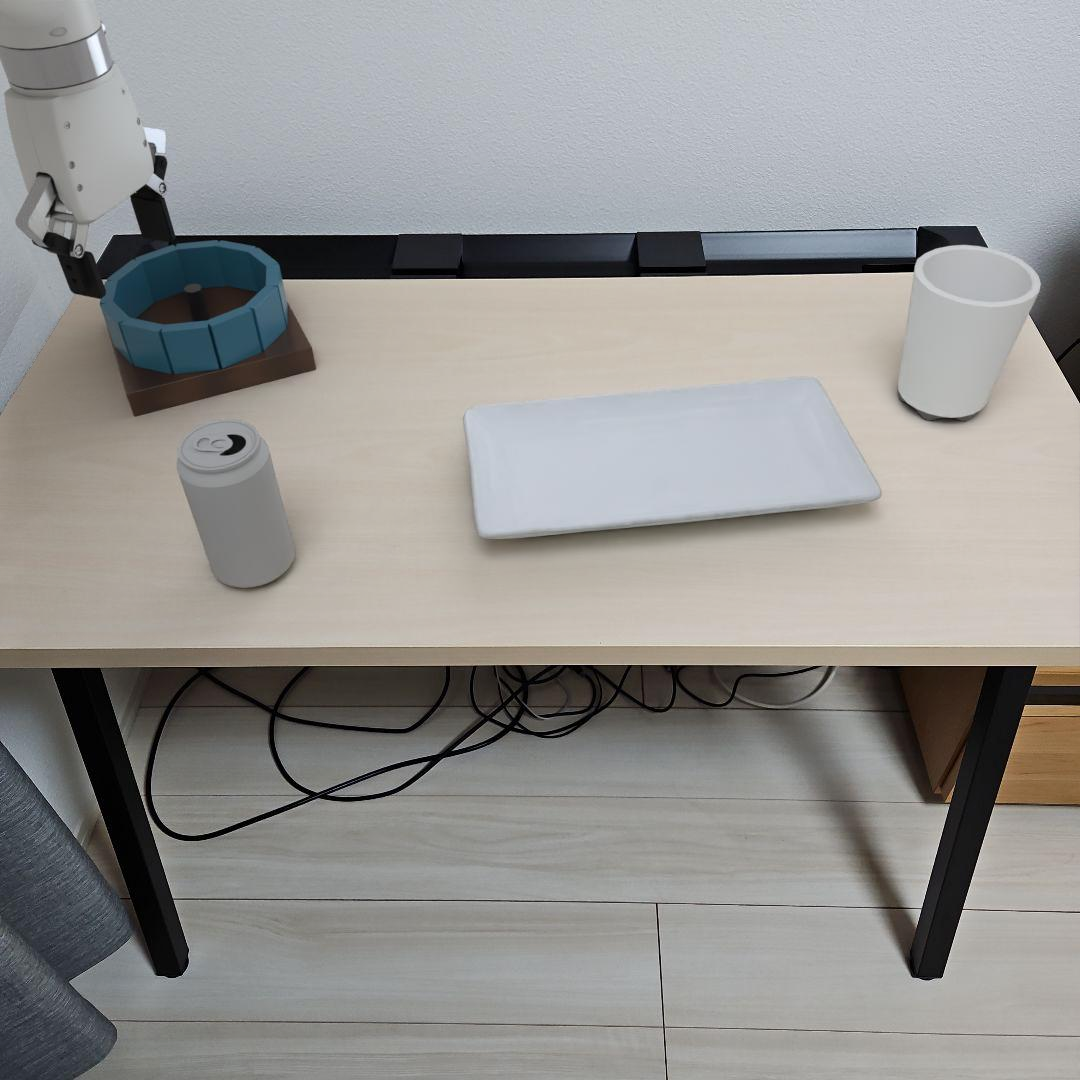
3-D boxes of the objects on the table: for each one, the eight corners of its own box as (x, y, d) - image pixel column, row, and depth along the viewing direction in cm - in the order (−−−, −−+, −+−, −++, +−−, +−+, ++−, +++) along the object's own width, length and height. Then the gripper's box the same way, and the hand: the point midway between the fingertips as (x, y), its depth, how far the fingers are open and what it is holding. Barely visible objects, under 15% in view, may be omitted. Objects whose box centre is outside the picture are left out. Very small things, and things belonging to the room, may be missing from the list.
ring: (127, 392, 93) (112, 349, 90) (102, 303, 104) (87, 262, 101) (309, 346, 98) (301, 304, 95) (266, 266, 109) (258, 226, 106)
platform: (134, 416, 95) (112, 356, 90) (107, 325, 106) (87, 267, 101) (316, 369, 100) (304, 309, 95) (272, 286, 111) (260, 229, 106)
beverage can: (288, 594, 78) (254, 471, 70) (203, 594, 79) (159, 472, 70) (303, 535, 83) (273, 414, 75) (223, 535, 83) (185, 414, 75)
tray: (463, 434, 92) (461, 402, 90) (811, 402, 94) (818, 370, 92) (479, 570, 80) (476, 537, 77) (878, 529, 82) (887, 496, 80)
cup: (1009, 435, 90) (1056, 306, 82) (893, 433, 91) (928, 304, 82) (981, 369, 98) (1022, 244, 89) (874, 367, 98) (904, 242, 89)
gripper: (89, 14, 84) (149, 213, 96) (-70, 96, 72) (21, 310, 84) (168, 23, 82) (219, 225, 94) (17, 109, 70) (98, 327, 82)
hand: (125, 265), depth 89 cm, fingers open, 9 cm apart
